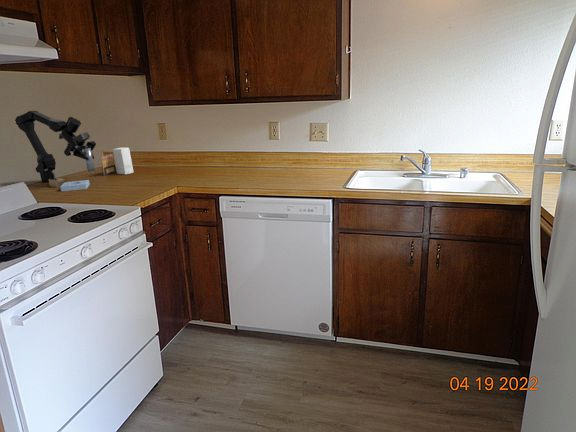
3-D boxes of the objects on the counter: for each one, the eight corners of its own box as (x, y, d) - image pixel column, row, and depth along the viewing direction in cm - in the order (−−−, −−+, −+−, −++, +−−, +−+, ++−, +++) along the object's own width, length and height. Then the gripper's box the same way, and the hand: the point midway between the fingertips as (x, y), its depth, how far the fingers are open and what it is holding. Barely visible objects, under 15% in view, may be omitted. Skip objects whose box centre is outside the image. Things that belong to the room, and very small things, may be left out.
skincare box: (134, 172, 259) (130, 147, 255) (125, 174, 254) (120, 149, 249) (125, 172, 264) (121, 147, 259) (116, 174, 258) (111, 148, 254)
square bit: (65, 186, 230) (63, 179, 229) (58, 187, 227) (56, 180, 226) (57, 184, 235) (55, 177, 234) (50, 186, 232) (48, 179, 231)
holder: (61, 191, 217) (60, 186, 216) (65, 186, 228) (64, 182, 227) (86, 188, 220) (85, 184, 220) (89, 184, 231) (88, 179, 231)
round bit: (87, 171, 230) (83, 149, 226) (88, 170, 233) (84, 148, 230) (94, 171, 231) (90, 148, 227) (95, 170, 234) (91, 147, 230)
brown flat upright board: (105, 175, 254) (102, 156, 250) (102, 175, 254) (99, 156, 251) (116, 172, 264) (113, 153, 260) (114, 172, 264) (111, 153, 261)
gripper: (63, 130, 218) (84, 151, 218) (90, 126, 235) (109, 146, 235) (55, 145, 223) (75, 166, 223) (82, 140, 240) (100, 160, 239)
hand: (91, 159), depth 230 cm, fingers closed on round bit, 4 cm apart
